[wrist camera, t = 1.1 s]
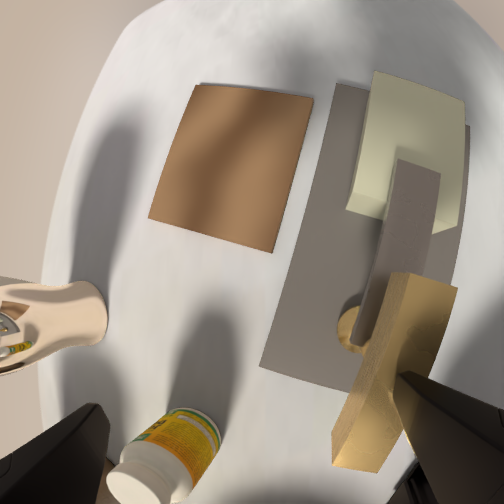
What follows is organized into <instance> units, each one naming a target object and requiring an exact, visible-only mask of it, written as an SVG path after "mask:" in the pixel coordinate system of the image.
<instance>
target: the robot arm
mask: <svg viewBox="0 0 504 504" xmlns="http://www.w3.org/2000/svg"><path fill="white" fill-rule="evenodd" d="M392 396H393V401H394V404H395V406H396V409H397V412H398V414H399V417H400V420H401V423H402V425H403V428H404V431H405V434H406V436H407V439H408V441H409V443H410V445H411V447H412V449H413V451H414V453H415V455H416V457H417V459H418V461H419V462H418V463H417V464H416V465H415V466H414V468H413V469H412V471H411V472H410V474H409V475H408V477H407V478H406V480H405V481H404V482H403V483H402V484H401V486H400V487H399V488H398V490H397V491H396V492H395V494H394V495H393V496H392V498H391V499H390V501H389V503H388V504H504V410H503V409H500V408H499V409H498V408H497V407H495V406H493V405H490V404H488V403H485V402H483V401H480V400H478V399H475V398H473V397H471V396H468V395H466V394H463V393H461V392H459V391H456V390H454V389H452V388H449V387H447V386H445V385H442V384H440V383H438V382H435V381H433V380H431V379H429V378H426V377H424V376H422V375H420V374H417V373H415V372H413V371H410V370H406V371H403V372H400V373H398V374H397V375H396V378H395V383H394V388H393V393H392ZM109 433H110V423H109V420H108V418H107V416H106V414H105V413H104V411H103V409H102V407H101V406H100V405H99V404H97V403H86V404H85V405H83V406H82V407H81V408H79V409H78V410H76V411H75V412H73V413H72V414H70V415H69V416H67V417H66V418H64V419H63V420H61V421H60V422H58V423H57V424H55V425H54V426H52V427H51V428H49V429H48V430H46V431H45V432H43V433H41V434H40V435H38V436H37V437H36V438H34V439H32V440H31V441H29V442H28V443H26V444H25V445H23V446H21V447H20V448H18V449H17V450H15V451H14V452H13V453H10V454H9V455H7V456H6V457H4V458H2V459H1V460H0V504H95V503H96V499H97V495H98V490H99V486H100V482H101V478H102V474H103V470H104V465H105V459H106V452H107V445H108V439H109ZM420 466H421V467H420Z"/></svg>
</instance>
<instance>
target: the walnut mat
mask: <svg viewBox="0 0 504 504" xmlns="http://www.w3.org/2000/svg"><path fill="white" fill-rule="evenodd" d="M313 103H314V100H313V98H308V97H302V96H297V95H291V94H284V93H278V92H271V91H263V90H255V89H246V88H235V87H223V86H208V85H195V88H194V90H193V92H192V95H191V97H190V99H189V102H188V104H187V107H186V109H185V112H184V114H183V117H182V119H181V122H180V124H179V127H178V129H177V132H176V135H175V137H174V140H173V143H172V145H171V148H170V151H169V154H168V156H167V159H166V162H165V165H164V168H163V171H162V174H161V177H160V180H159V183H158V186H157V189H156V192H155V196H154V199H153V202H152V205H151V209H150V212H149V215H148V218H149V219H153V220H156V221H160V222H163V223H167V224H170V225H174V226H177V227H181V228H184V229H188V230H191V231H195V232H198V233H202V234H205V235H209V236H212V237H216V238H220V239H223V240H227V241H230V242H234V243H237V244H241V245H244V246H248V247H251V248H254V249H258V250H261V251H265V252H268V253H273V249H274V246H275V242H276V239H277V235H278V232H279V228H280V225H281V221H282V218H283V214H284V211H285V207H286V204H287V200H288V196H289V193H290V189H291V185H292V182H293V178H294V175H295V171H296V167H297V164H298V160H299V156H300V152H301V149H302V145H303V141H304V137H305V134H306V130H307V126H308V122H309V119H310V115H311V111H312V107H313Z"/></svg>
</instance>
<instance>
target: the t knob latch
mask: <svg viewBox="0 0 504 504" xmlns="http://www.w3.org/2000/svg"><path fill="white" fill-rule="evenodd" d="M440 179H441V173H438V172H436V171H433V170H430V169H427V168H425V167H422V166H419V165H416V164H413V163H410V162H407V161H404V160H401V159H397V160H396V162H395V163H394V168H393V174H392V180H391V185H390V190H389V196H388V201H387V206H386V210H385V215H384V220H383V224H382V228H381V233H380V237H379V241H378V245H377V249H376V253H375V257H374V261H373V265H372V268H371V272H370V275H369V279H368V282H367V286H366V289H365V293H364V296H363V299H362V303H361V305H357V306H353V307H351V308H349V309H347V310H346V311H345V312H344V313H343V314H342V315H341V317H340V318H339V321H338V324H337V336H338V339H339V342H340V343H341V345H342V346H343V347H344V348H345V349H346V350H348V351H350V352H353V353H362V356H363V361H362V363H361V366H360V369H359V371H358V374H357V376H356V379H355V381H354V383H353V386H352V388H351V391H350V393H349V395H348V397H347V400H346V402H345V404H344V406H343V409H342V411H341V413H340V415H339V417H338V420H337V422H336V424H335V426H334V428H333V430H332V432H331V436H332V466H337V467H342V468H348V469H353V470H359V471H365V472H372V473H378V471H379V470H380V468H381V466H382V465H383V463H384V462H385V460H386V458H387V457H388V455H389V453H390V452H391V450H392V448H393V447H394V445H395V443H396V441H397V440H398V438H399V436H400V434H401V432H402V431H403V429H404V428H403V425H402V423H401V420H400V417H399V414H398V412H397V409H396V406H395V404H394V401H393V396H392V393H393V388H394V383H395V378H396V375H397V374H398V373H400V372H403V371H406V370H410V371H413V372H415V373H417V374H420V375H422V376H424V377H426V378H428V376H429V374H430V371H431V369H432V366H433V364H434V361H435V359H436V356H437V353H438V351H439V348H440V345H441V342H442V339H443V336H444V334H445V331H446V327H447V324H448V321H449V318H450V315H451V311H452V308H453V304H454V301H455V297H456V293H457V290H458V288H457V287H454V286H451V285H448V284H445V283H441V282H438V281H435V280H432V279H429V278H425V277H422V275H423V271H424V267H425V263H426V259H427V255H428V250H429V245H430V241H431V236H432V231H433V225H434V220H435V214H436V208H437V201H438V194H439V187H440Z"/></svg>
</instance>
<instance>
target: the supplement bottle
mask: <svg viewBox="0 0 504 504" xmlns="http://www.w3.org/2000/svg"><path fill="white" fill-rule="evenodd" d="M220 446H221V437H220V433H219V430H218V428H217V426H216V425H215V423H214V422H213V421H212V420H211V419H210V418H209V417H208V416H206V415H205V414H203V413H202V412H200V411H198V410H195V409H192V408H183V407H182V408H176V409H172V410H171V411H169V412H168V413H166V414H165V415H164V416H163V417H162V418H160V419H159V420H158V421H157V422H156V423H154V424H153V425H152V426H151V427H149V428H148V429H147V430H146V431H144V432H143V433H142V434H140V435H139V436H138V437H137V438H135V439H134V440H133V441H132V442H130V443H129V444H128V445H127V446H126V447H125V448H124V449H123V450H122V452H121V455H120V464H118V465H117V466H116V467H115V468H114V469H113V470H111V471H110V472H109V473H108V475H107V478H106V482H107V485H108V488H109V490H110V492H111V493H112V494H113V496H114V497H115V498H116V499H117V500H118V501H119V502H120V503H121V504H170V503H177V502H180V501H182V500H184V499H185V498H187V497H188V496H189V494H190V493H191V491H192V490H193V489H194V487H195V486H196V484H197V483H198V481H199V480H200V478H201V477H202V475H203V474H204V472H205V471H206V469H207V468H208V466H209V465H210V463H211V462H212V460H213V459H214V457H215V456H216V454H217V453H218V451H219V449H220Z"/></svg>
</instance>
